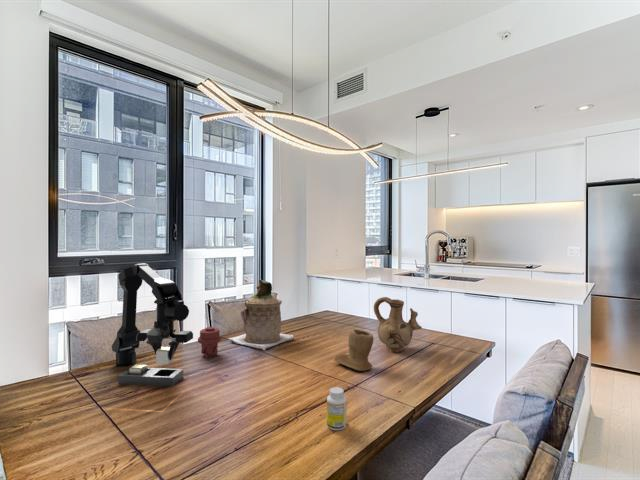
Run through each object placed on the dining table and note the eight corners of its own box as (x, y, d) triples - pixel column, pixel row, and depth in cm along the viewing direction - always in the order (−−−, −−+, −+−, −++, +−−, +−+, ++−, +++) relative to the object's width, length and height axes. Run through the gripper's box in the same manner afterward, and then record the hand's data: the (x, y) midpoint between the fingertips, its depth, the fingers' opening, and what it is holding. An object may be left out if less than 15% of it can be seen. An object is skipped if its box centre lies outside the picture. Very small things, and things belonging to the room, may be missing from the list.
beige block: (129, 382, 123) (129, 368, 123) (136, 377, 128) (136, 363, 127) (140, 382, 123) (140, 368, 123) (147, 377, 127) (147, 364, 127)
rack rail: (118, 385, 122) (118, 375, 122) (132, 376, 130) (132, 367, 130) (172, 387, 120) (172, 377, 120) (183, 378, 128) (183, 369, 128)
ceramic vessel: (392, 358, 152) (393, 302, 151) (366, 346, 168) (367, 295, 168) (422, 352, 160) (423, 299, 160) (394, 341, 177) (395, 293, 177)
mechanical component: (225, 352, 157) (214, 360, 147) (205, 351, 159) (193, 358, 149) (225, 325, 157) (214, 331, 147) (205, 324, 159) (193, 330, 149)
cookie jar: (295, 338, 180) (296, 278, 180) (264, 351, 159) (264, 283, 159) (260, 331, 193) (260, 274, 193) (227, 342, 172) (227, 279, 172)
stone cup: (379, 368, 141) (379, 331, 140) (359, 375, 133) (359, 337, 133) (352, 358, 152) (353, 324, 152) (332, 364, 144) (333, 328, 144)
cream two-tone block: (156, 363, 123) (156, 350, 123) (162, 359, 127) (162, 346, 127) (167, 364, 122) (167, 350, 122) (173, 360, 127) (173, 346, 126)
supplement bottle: (334, 418, 101) (335, 384, 101) (350, 425, 97) (350, 389, 97) (322, 426, 97) (323, 390, 97) (338, 433, 93) (338, 396, 93)
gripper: (126, 321, 117) (126, 366, 117) (179, 323, 116) (179, 369, 116) (145, 314, 128) (145, 355, 128) (193, 315, 127) (193, 357, 127)
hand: (164, 359), depth 125 cm, fingers closed on cream two-tone block, 4 cm apart
